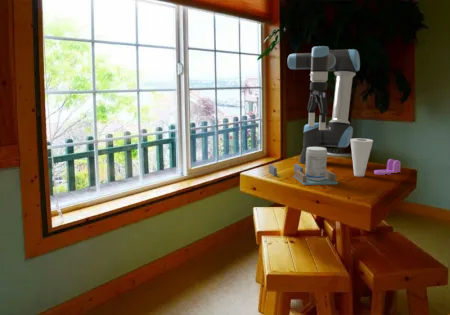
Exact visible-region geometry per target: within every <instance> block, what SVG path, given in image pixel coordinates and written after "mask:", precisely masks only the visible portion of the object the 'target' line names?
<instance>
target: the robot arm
mask: <svg viewBox="0 0 450 315" xmlns="http://www.w3.org/2000/svg"><path fill="white" fill-rule="evenodd" d="M286 63H287V67H288V68H289V69H290V70H310V74H309V76H310V81H311V82H310V83H309V91H310V93H309V94H310V95H309V99H308V104H307V109H306V110H307V112H308V123H307V124H305V125H304V126H303V140H302V141H303V144H302V151H301V153H300V156H299V159H298V160H299V163H300V164H304V165H306V151H307V148H308V147H323V148H325V146H326V147H335V148H347V147H348V146H349V145H351V141H350V139H353V134H354V133H353V132H354V129H353V127H352V126H351V123H350V121H349V112H350V102H351V94H352V85H353V78H354V77H355V76H356V75H357V72H359V71H360V67H361V60H360V54H359V51H358V50H357V49H353V48H352V49H350V48H349V49H347V48H346V49H330V48H329V46H325V45H321V46H320V45H318V46H313V47H312V48H311V52H308V53H307V52H304V53H302V52H301V53H296V52H295V53H291V54H289V55H288V57H287V62H286ZM329 72H333V74H334V75H335V77H336V78H335V86H334V97H333V106H332V113H331V114H332V116H331V119H330V120H329V121H328V125H327V115H329V106H328V105H329V104H328V99H327V97H328V96H327V92H324V91H327V90H328V82H327V81H328V78H329V77H328V76H329V75H328V74H329ZM317 106H318V109H319V114H318V115H319V118H318V119H319V122H315V119H316V108H317Z"/></svg>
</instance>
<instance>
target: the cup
mask: <svg viewBox="0 0 450 315" xmlns="http://www.w3.org/2000/svg"><path fill="white" fill-rule="evenodd" d="M350 141H351V142H350V148H351V158H352V169H353V176H354V177H358V178H359V177H365V174H366V170H367V167H368V166H367V164H368V162H369V158H370V153H371V151H372V146H373V142H374V140H373V139H371V138H352V139H350Z"/></svg>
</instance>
